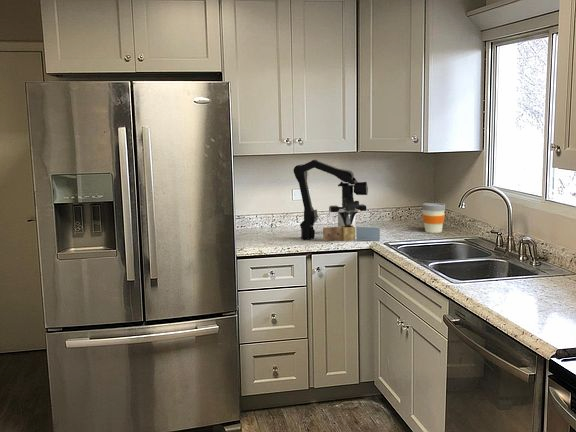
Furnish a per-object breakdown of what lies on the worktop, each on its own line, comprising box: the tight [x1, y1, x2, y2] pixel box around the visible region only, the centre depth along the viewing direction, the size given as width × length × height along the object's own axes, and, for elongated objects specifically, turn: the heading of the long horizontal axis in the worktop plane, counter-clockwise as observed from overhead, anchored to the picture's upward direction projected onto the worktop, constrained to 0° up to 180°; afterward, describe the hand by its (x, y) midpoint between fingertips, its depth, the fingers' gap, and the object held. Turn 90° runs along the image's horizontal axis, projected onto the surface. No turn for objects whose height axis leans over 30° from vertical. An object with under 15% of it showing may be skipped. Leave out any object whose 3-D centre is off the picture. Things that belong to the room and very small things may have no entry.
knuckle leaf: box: [322, 225, 356, 242], centre depth 322 cm, size 16×6×7 cm, turn 98°
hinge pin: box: [344, 211, 351, 227], centre depth 322 cm, size 4×4×10 cm
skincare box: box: [337, 205, 356, 228], centre depth 339 cm, size 8×7×16 cm
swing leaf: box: [355, 226, 381, 241], centre depth 320 cm, size 12×1×7 cm, turn 73°
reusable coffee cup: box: [421, 202, 446, 234], centre depth 341 cm, size 13×12×15 cm
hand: (347, 224), depth 322 cm, fingers closed on hinge pin, 3 cm apart
